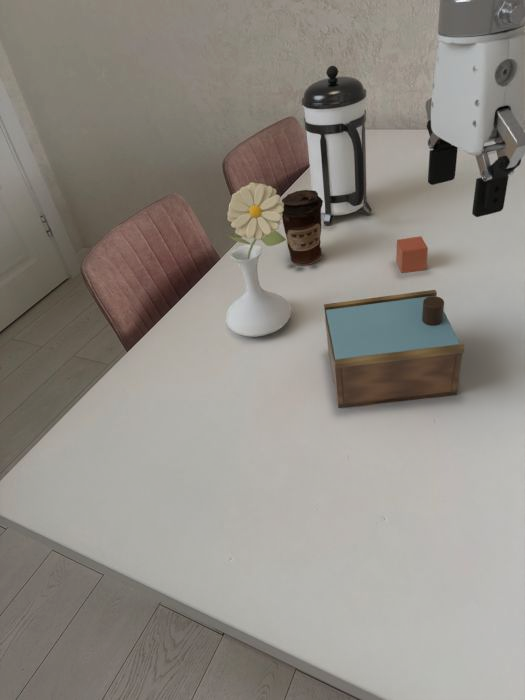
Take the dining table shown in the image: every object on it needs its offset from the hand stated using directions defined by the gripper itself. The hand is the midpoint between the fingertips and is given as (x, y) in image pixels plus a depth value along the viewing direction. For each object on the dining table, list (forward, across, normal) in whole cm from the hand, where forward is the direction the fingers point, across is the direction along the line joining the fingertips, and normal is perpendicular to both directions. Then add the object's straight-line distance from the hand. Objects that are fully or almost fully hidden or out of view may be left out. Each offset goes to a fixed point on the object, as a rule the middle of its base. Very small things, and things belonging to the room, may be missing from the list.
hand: (462, 196), depth 56 cm
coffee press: (+26, +54, -4) cm, 60 cm away
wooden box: (+25, +1, +8) cm, 27 cm away
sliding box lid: (+17, +1, +8) cm, 19 cm away
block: (+25, +27, -8) cm, 38 cm away
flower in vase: (+26, +21, +22) cm, 40 cm away
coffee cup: (+26, +38, +9) cm, 47 cm away
